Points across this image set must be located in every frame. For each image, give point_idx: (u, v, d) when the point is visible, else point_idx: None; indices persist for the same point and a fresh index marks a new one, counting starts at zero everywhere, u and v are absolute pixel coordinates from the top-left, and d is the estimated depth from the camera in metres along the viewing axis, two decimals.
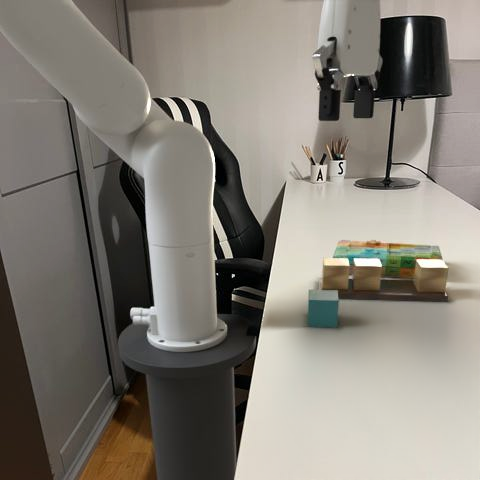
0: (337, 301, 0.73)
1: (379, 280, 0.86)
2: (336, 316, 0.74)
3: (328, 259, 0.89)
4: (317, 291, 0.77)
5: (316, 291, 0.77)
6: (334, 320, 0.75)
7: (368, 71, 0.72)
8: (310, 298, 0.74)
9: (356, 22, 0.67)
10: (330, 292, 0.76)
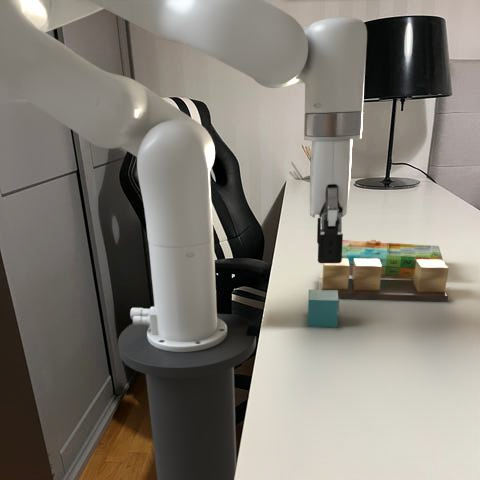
0: (337, 301, 0.73)
1: (379, 280, 0.86)
2: (336, 316, 0.74)
3: None
4: (317, 291, 0.77)
5: (316, 291, 0.77)
6: (334, 320, 0.75)
7: None
8: (310, 298, 0.74)
9: (350, 168, 0.65)
10: (330, 292, 0.76)
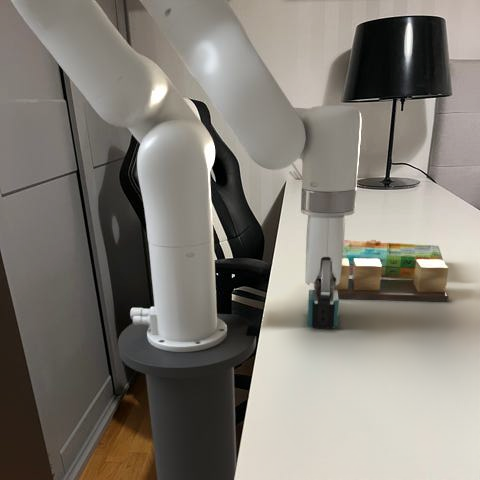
0: (337, 301, 0.73)
1: (379, 280, 0.86)
2: (336, 316, 0.74)
3: None
4: None
5: None
6: (334, 320, 0.75)
7: None
8: (310, 298, 0.74)
9: (343, 241, 0.69)
10: None
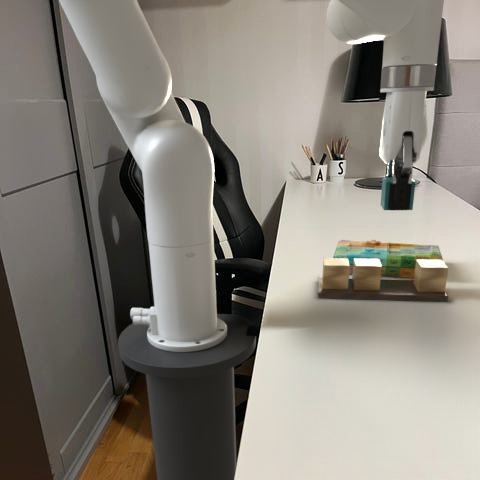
0: (414, 182, 0.76)
1: (379, 280, 0.86)
2: (412, 198, 0.77)
3: (328, 259, 0.89)
4: (391, 178, 0.80)
5: (390, 178, 0.80)
6: (410, 202, 0.78)
7: None
8: (387, 181, 0.77)
9: None
10: None
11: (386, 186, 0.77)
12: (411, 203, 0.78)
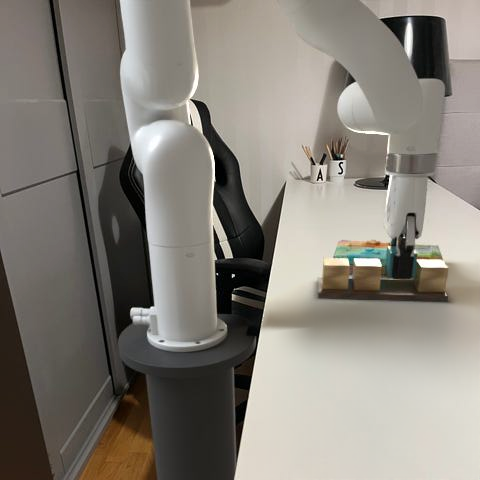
0: (416, 254, 0.83)
1: (379, 280, 0.86)
2: (414, 268, 0.84)
3: (328, 259, 0.89)
4: (395, 247, 0.87)
5: (394, 247, 0.87)
6: (412, 271, 0.84)
7: None
8: (391, 252, 0.84)
9: None
10: None
11: (390, 257, 0.84)
12: (413, 272, 0.84)
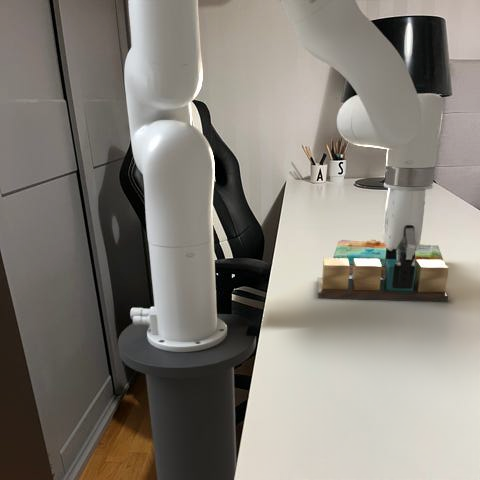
0: None
1: (379, 280, 0.86)
2: None
3: (328, 259, 0.89)
4: (393, 260, 0.88)
5: (393, 260, 0.88)
6: None
7: None
8: (390, 265, 0.85)
9: None
10: None
11: (389, 270, 0.85)
12: None
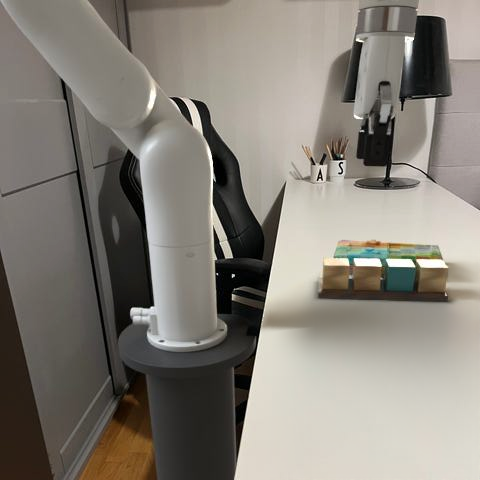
0: (414, 267, 0.84)
1: (379, 280, 0.86)
2: (412, 281, 0.85)
3: (328, 259, 0.89)
4: (393, 260, 0.88)
5: (393, 260, 0.88)
6: (410, 284, 0.85)
7: None
8: (390, 265, 0.85)
9: None
10: (405, 261, 0.87)
11: (389, 270, 0.85)
12: (411, 285, 0.85)
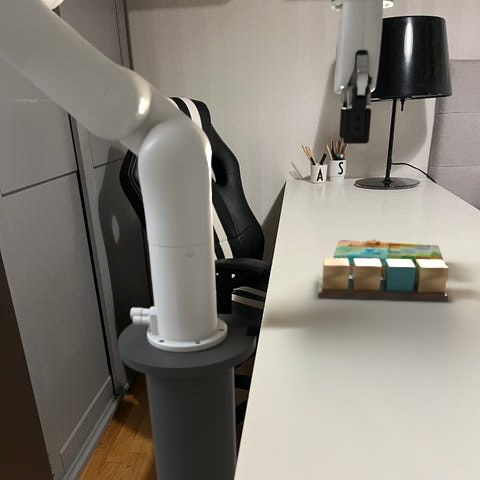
0: (414, 267, 0.84)
1: (379, 280, 0.86)
2: (412, 281, 0.85)
3: (328, 259, 0.89)
4: (393, 260, 0.88)
5: (393, 260, 0.88)
6: (410, 284, 0.85)
7: None
8: (390, 265, 0.85)
9: None
10: (405, 261, 0.87)
11: (389, 270, 0.85)
12: (411, 285, 0.85)
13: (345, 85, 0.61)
